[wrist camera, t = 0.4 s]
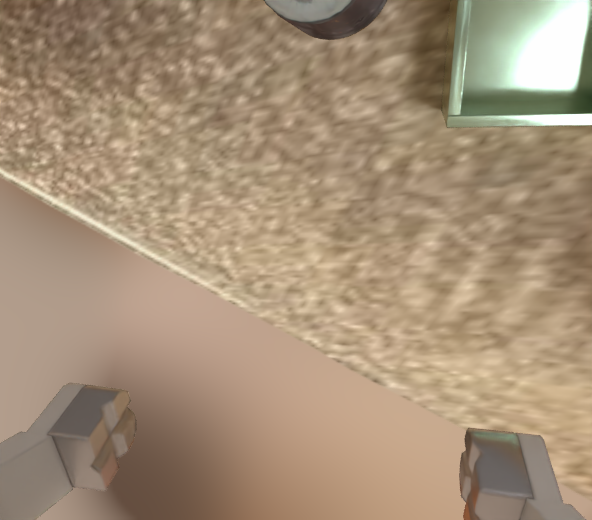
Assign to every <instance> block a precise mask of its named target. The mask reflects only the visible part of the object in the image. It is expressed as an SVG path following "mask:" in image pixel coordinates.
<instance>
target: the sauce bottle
mask: <svg viewBox="0 0 592 520" xmlns="http://www.w3.org/2000/svg"><path fill="white" fill-rule="evenodd" d="M264 1H265V3H266V4H267V5H268V6H269V7H271V8H272V9H273V11H274V12H276V13H277V15H278V16H280V17H281V18H283V19H284V20H286V21H287V22H289V23H291V24H292V25H294V26H295V27H297V28H298V29H300V30H301V31H303V32H305V33H306V34H308V35H310V36H312V37H315V38H319V39H326V40H334V39H341V38H345V37H348V36H351V35H353V34H355V33H357V32H359V31H361V30H362V29H364V28H365V27H366V26H368V25H369V24H370V23H371V22H372V21H373V20H374V19H375V18H376V17H377V16H378V15H379V13H380V12H381V10H382V9H383V7H384V6H385V4H386V2H387V0H264Z"/></svg>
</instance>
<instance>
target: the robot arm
mask: <svg viewBox="0 0 592 520" xmlns="http://www.w3.org/2000/svg"><path fill="white" fill-rule="evenodd" d="M130 401H131V400H130V397H129V394H128V391H126V390H122V389H115V388H108V387H100V386H93V385H84V384H77V383H68V384H66V385H65V386H63V387H62V389H61V390H60V391H59V392H58V394H57V395H56V396H55V397H54V398H53V400H52V401H51V402H50V403H49V405H48V406H47V407H46V409H45V410H44V411H43V412H42V413H41V414H40V416H39V417H38V418H37V419H36V421H35V422H34V423H33V424H32V425H31V427H30V428H29V429H28V430H27V432H19V433H17V434H16V435H14V436H12V437H10V438H8V439H6V440H5V441H3V442H1V443H0V520H36V519H37V518H38V517H39V516H41V515H42V514H43V513H44V512H46V511H47V510H48V509H49V508H51V507H52V506H53V505H54V504H56V503H57V502H58V501H59V500H60V499H62V498H63V497H64V496H65V495H67V494H68V493H69V492H70V491H72V490H73V488H72V487H74V488H83V489H92V490H100V491H106V490H107V488H108V486H109V484H110V482H111V481H112V479H113V477H114V476H115V474H116V472H117V470H118V468H119V464H118V458H119V457H121V456H122V455H124V454H125V453H127V452H128V451H129V449H130V447H131V445H132V443H133V441H134V437H135V433H136V418H135V414H134V413H133V412H132V411H131V410H130V409H129V408H128V407H127V406H128V405H129V403H130ZM465 447H466V451H464V452H463V453H462V455H461V461H460V474H459V477H460V491H461V497H462V498H463V500H464V501H465V502H466V505H465V510H464V515H463V518H464V520H586V519H585V518H584V517H583V516H582V515H581V514H580V513H579V512H578V511H577V510H576V509H575V508H574V507H573V506H572V505H570V504H564V503H563V500H562V497H561V494H560V491H559V487H558V484H557V481H556V478H555V475H554V471H553V468H552V465H551V462H550V459H549V455H548V452H547V449H546V446H545V443H544V439H543V438H542V437H541V436H540V435H532V434H523V433H514V432H506V431H496V430H486V429H476V428H468V429H467V431H466V435H465Z"/></svg>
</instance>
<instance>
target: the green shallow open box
mask: <svg viewBox="0 0 592 520" xmlns="http://www.w3.org/2000/svg"><path fill="white" fill-rule="evenodd" d="M441 111H442V114H443V117H444V120H445V123H446V126H447V128H460V127H533V126H592V0H450V8H449V21H448V33H447V45H446V58H445V70H444V82H443V95H442V107H441Z"/></svg>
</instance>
